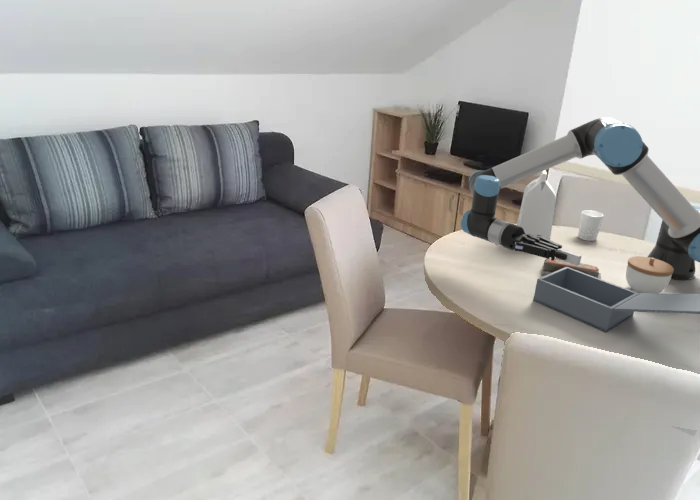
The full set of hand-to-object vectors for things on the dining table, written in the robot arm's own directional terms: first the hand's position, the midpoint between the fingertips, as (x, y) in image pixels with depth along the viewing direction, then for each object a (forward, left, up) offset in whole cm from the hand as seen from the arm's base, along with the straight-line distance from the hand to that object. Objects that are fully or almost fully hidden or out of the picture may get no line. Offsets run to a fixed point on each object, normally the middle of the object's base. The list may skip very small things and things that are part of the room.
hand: (579, 260), depth 157 cm
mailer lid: (-20, +13, -3) cm, 25 cm away
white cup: (-19, -65, -15) cm, 69 cm away
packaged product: (-5, -24, -15) cm, 29 cm away
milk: (+3, -56, -15) cm, 58 cm away
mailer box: (-4, -1, -14) cm, 15 cm away
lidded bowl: (-26, -19, -15) cm, 35 cm away
